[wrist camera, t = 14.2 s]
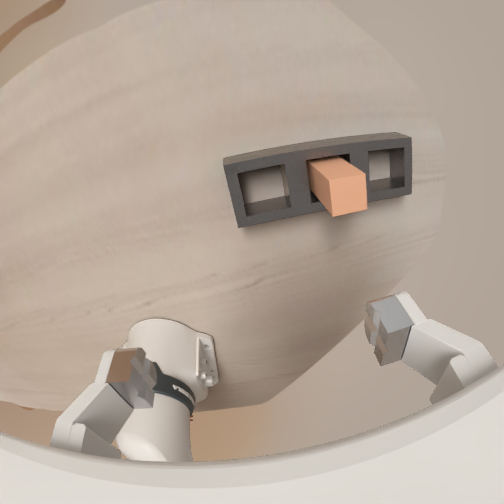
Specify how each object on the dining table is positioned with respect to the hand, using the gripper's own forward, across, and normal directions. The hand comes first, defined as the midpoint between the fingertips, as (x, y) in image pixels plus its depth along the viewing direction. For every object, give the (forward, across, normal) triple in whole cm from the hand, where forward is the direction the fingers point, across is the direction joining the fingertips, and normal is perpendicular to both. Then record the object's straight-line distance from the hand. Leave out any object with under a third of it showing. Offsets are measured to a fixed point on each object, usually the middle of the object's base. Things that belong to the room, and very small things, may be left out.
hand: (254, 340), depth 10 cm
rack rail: (+29, +11, -4) cm, 31 cm away
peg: (+29, +11, -4) cm, 31 cm away
